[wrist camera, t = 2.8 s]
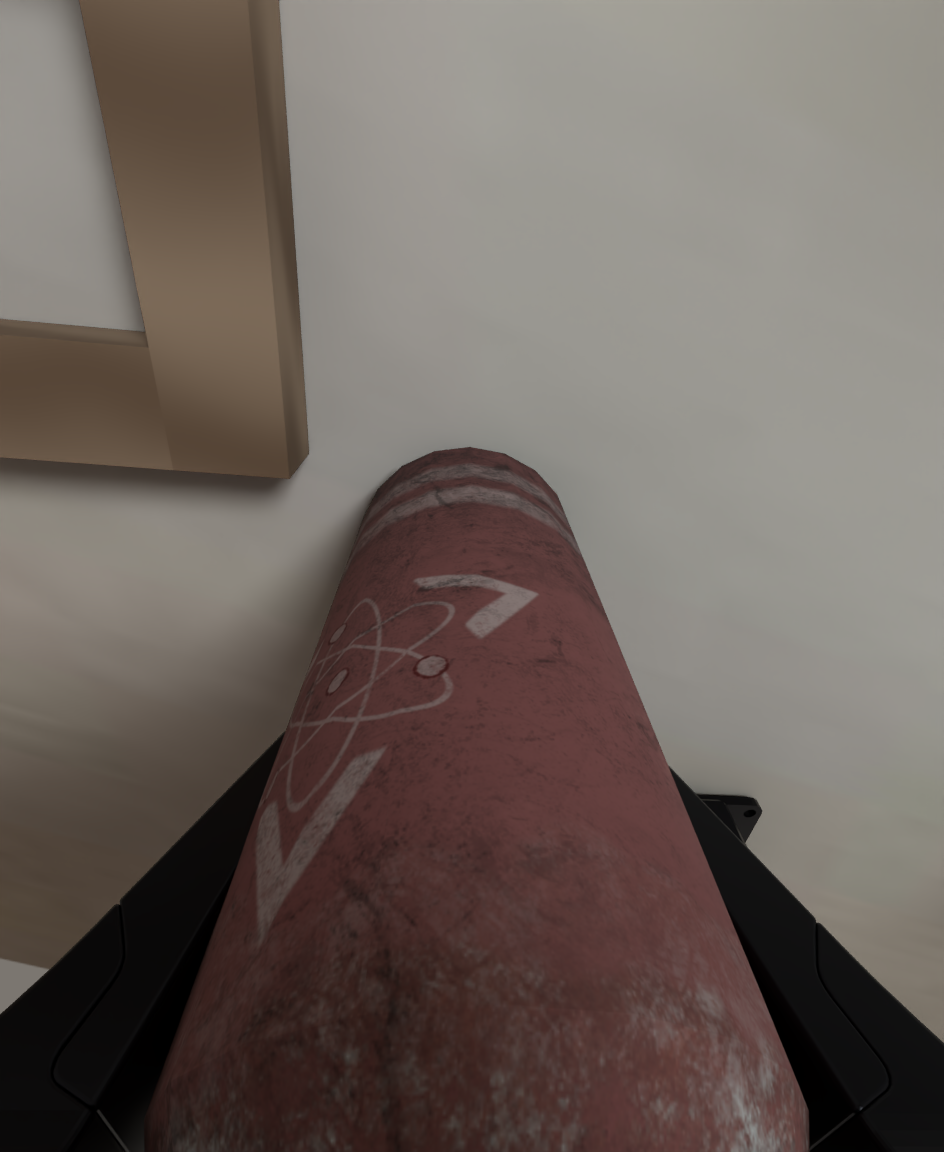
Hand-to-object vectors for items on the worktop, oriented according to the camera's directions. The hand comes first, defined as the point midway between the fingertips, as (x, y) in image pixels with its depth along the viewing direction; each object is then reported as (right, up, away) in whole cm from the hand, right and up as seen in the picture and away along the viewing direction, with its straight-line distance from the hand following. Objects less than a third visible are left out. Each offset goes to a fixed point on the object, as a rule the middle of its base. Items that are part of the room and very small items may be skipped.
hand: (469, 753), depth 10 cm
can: (0, +4, +7) cm, 8 cm away
